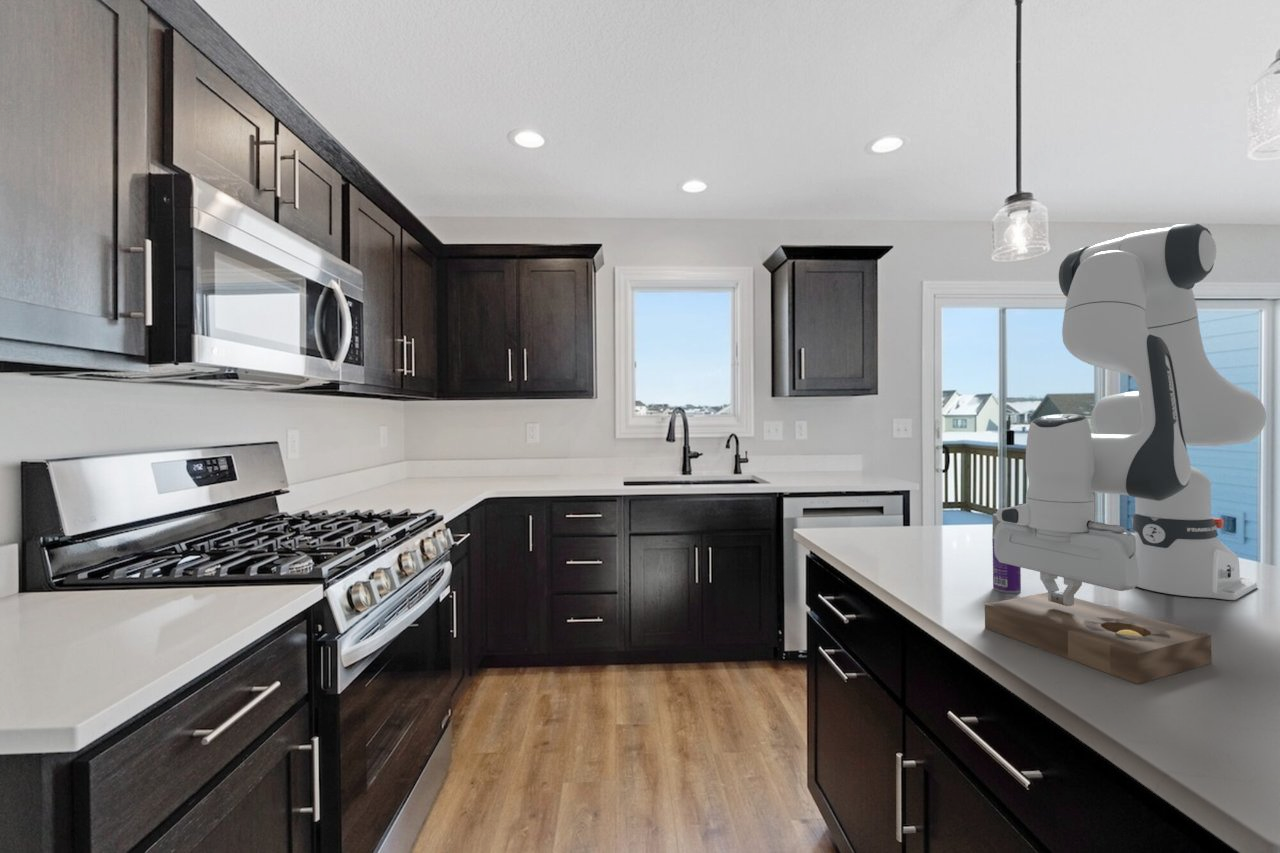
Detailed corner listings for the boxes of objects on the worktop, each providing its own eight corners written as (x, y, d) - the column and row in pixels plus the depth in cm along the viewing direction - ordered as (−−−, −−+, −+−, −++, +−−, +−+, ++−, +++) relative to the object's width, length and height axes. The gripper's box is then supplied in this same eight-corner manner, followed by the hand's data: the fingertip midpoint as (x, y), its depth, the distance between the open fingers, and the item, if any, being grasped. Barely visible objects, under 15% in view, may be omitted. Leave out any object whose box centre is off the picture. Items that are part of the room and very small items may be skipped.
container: (1025, 594, 113) (1024, 517, 113) (998, 593, 114) (997, 516, 114) (1014, 587, 118) (1013, 513, 118) (989, 586, 119) (988, 512, 119)
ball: (1117, 633, 87) (1140, 622, 84) (1138, 660, 84) (1162, 650, 81) (1099, 638, 85) (1121, 627, 82) (1119, 665, 83) (1143, 655, 80)
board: (1052, 614, 102) (1051, 591, 102) (1211, 663, 81) (1211, 634, 81) (985, 628, 96) (984, 604, 96) (1138, 684, 76) (1137, 653, 76)
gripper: (1149, 525, 84) (1150, 621, 84) (1012, 506, 103) (1014, 584, 103) (1121, 529, 81) (1122, 628, 82) (987, 509, 101) (988, 589, 101)
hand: (1061, 603), depth 93 cm, fingers closed
